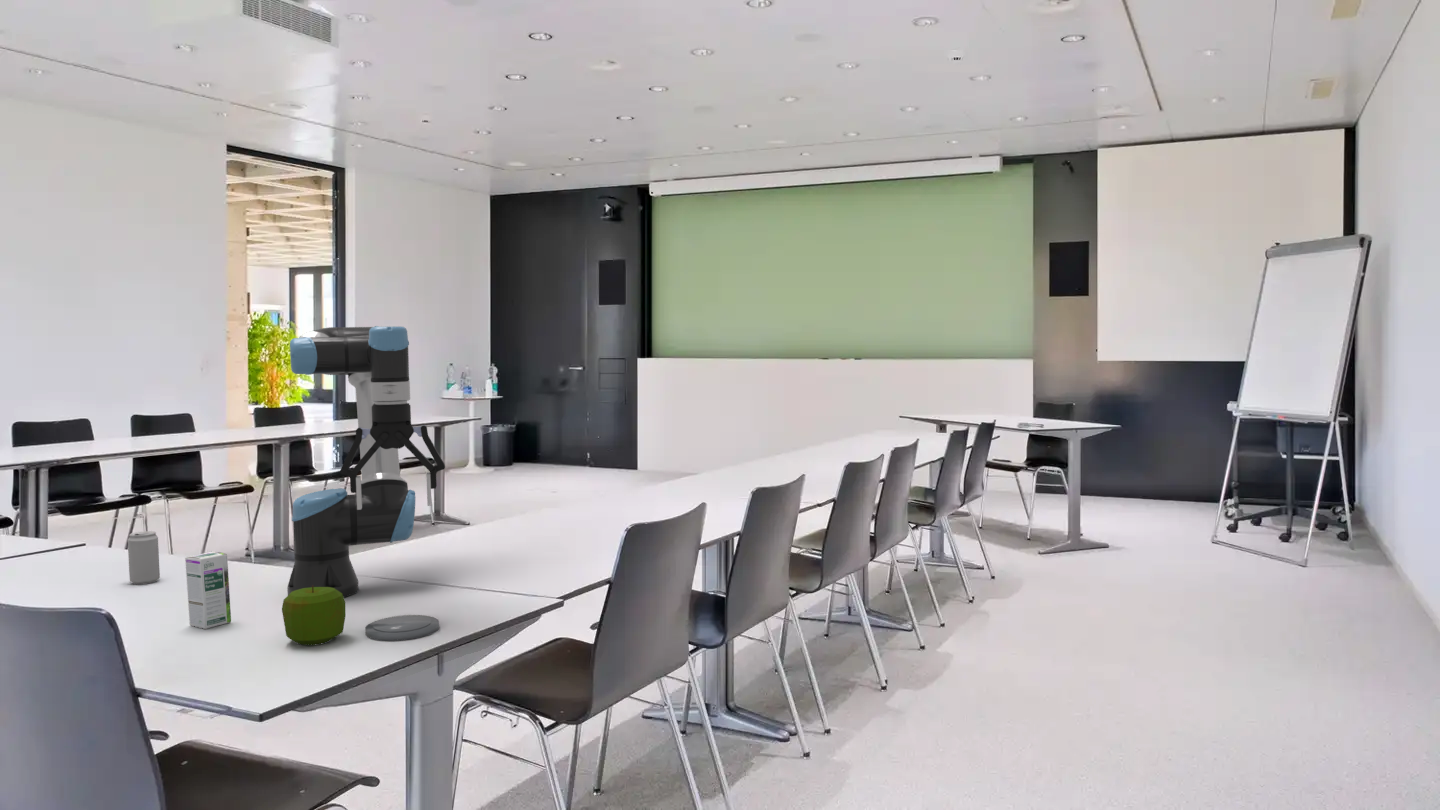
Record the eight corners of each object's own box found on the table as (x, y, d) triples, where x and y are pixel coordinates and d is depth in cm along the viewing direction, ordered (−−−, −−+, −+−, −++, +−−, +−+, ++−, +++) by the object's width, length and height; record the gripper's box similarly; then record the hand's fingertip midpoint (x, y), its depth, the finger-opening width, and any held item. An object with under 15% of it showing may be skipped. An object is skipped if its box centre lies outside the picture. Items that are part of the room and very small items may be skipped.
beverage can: (123, 584, 247) (120, 534, 246) (147, 578, 253) (144, 529, 252) (142, 586, 245) (140, 536, 244) (166, 580, 251) (163, 531, 250)
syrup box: (205, 629, 207) (201, 558, 206) (188, 625, 210) (184, 555, 209) (231, 622, 212) (228, 553, 211) (214, 618, 215) (211, 550, 214)
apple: (357, 633, 203) (354, 579, 202) (324, 650, 192) (321, 592, 192) (307, 630, 205) (304, 577, 205) (271, 647, 195) (269, 590, 194)
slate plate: (351, 639, 199) (351, 632, 199) (386, 619, 212) (386, 612, 212) (420, 642, 196) (419, 634, 196) (450, 621, 210) (450, 614, 210)
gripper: (323, 405, 202) (327, 513, 203) (454, 401, 208) (458, 505, 210) (327, 403, 209) (331, 507, 210) (454, 399, 216) (457, 500, 217)
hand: (394, 506), depth 210 cm, fingers open, 13 cm apart
